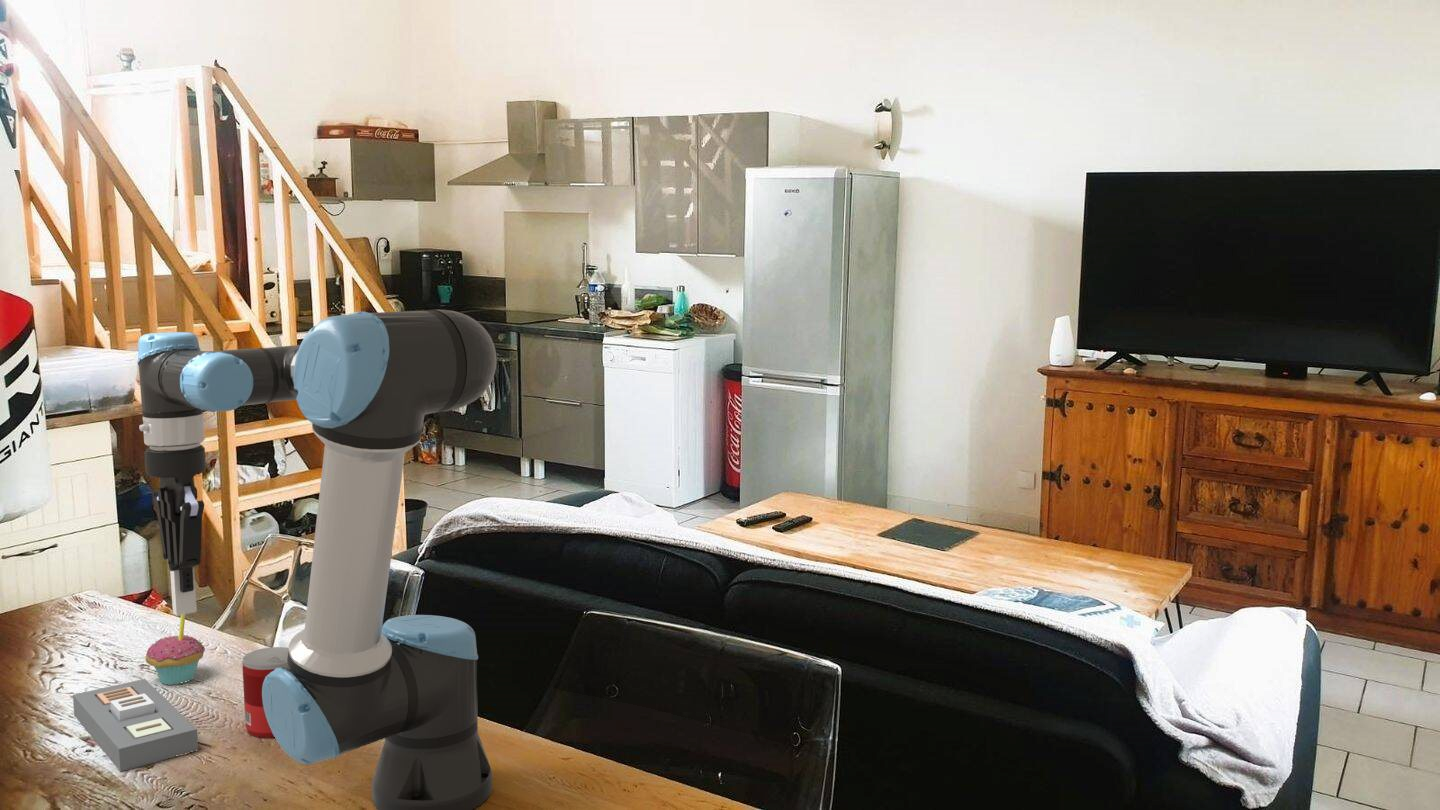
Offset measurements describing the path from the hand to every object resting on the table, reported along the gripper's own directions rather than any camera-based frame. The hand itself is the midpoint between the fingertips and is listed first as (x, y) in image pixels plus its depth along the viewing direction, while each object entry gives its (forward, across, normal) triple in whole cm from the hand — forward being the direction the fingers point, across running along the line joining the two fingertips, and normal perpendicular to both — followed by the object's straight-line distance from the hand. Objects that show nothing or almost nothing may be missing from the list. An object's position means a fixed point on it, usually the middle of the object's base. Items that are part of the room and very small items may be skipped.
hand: (184, 612), depth 164 cm
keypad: (+19, -9, -5) cm, 21 cm away
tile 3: (+18, -17, -5) cm, 25 cm away
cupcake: (+19, -26, +7) cm, 32 cm away
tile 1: (+18, -2, -5) cm, 19 cm away
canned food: (+19, +2, +11) cm, 22 cm away
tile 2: (+16, -9, -5) cm, 19 cm away
